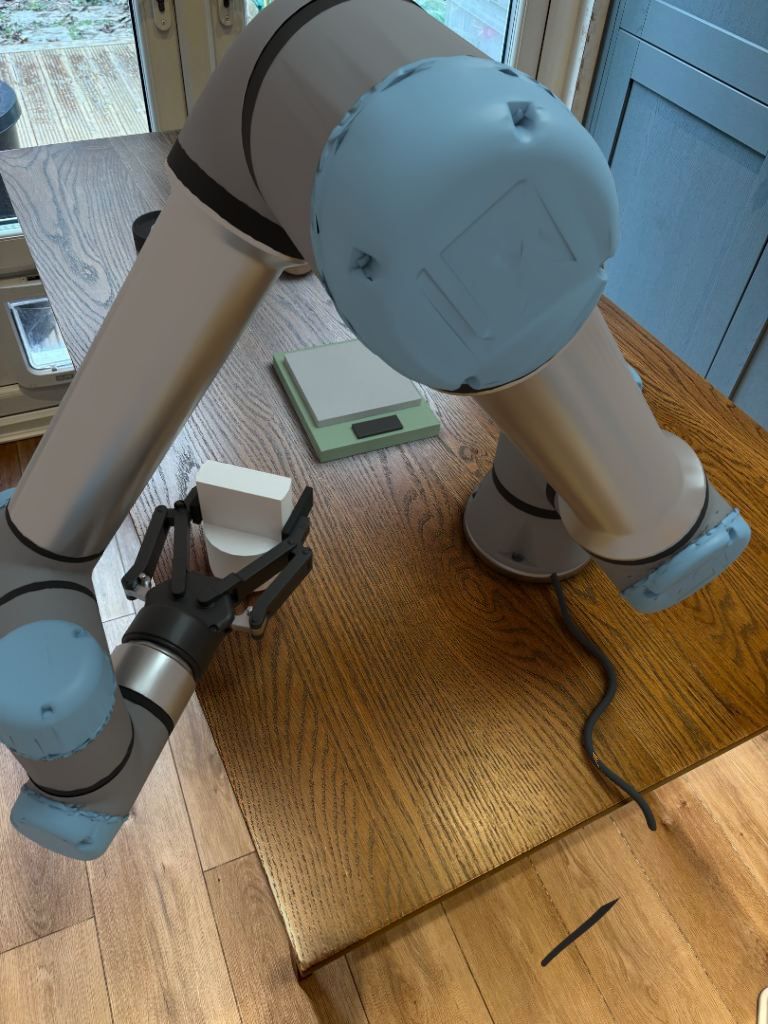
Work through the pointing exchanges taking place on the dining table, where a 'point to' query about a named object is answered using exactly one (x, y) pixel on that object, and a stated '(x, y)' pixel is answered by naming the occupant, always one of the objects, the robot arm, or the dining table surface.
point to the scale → (352, 400)
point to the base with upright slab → (241, 514)
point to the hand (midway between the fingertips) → (266, 483)
